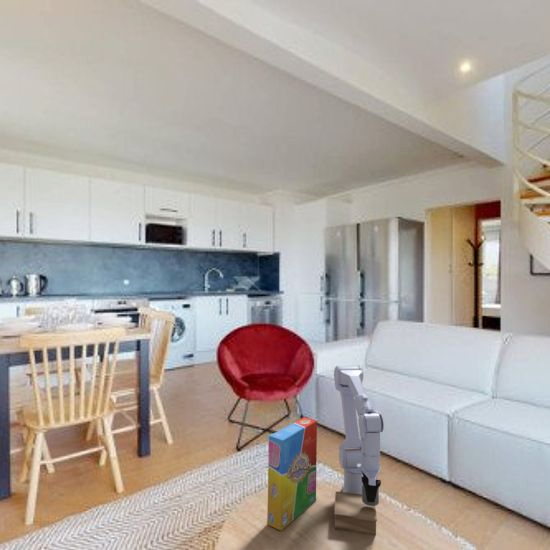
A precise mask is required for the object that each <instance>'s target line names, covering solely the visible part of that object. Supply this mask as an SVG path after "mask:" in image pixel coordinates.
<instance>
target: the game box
mask: <svg viewBox="0 0 550 550" xmlns="http://www.w3.org/2000/svg"><path fill="white" fill-rule="evenodd" d="M317 423H318V421H317V420H314V419H312V418H309V417H302V418H300V419H299V420H297V421H295V422H292V423H291V424H290V425H287V426H286V427H284V428H281V429H280V430H277V431H276V432H274V433H272V434H269V435H268V462H267V463H268V466H267V467H268V468H267V469H268V470H267V471H268V475H267V479H268V480H267V481H268V482H267V511H266V512H267V518H266V524H267V525H268V526H269V527H271V528H274V529H276V530H278V531H283V530H284V529H285V528H286V527H287V526H289V524H291V523H292V522H293V521H295V519H296V518H297V517H299V516H300V515H301V514H302V513H304V511H305V510H306V509H308V508H309V507H310V506H311V505H312V504H314V503H315V502H316V501H317V458H318V456H317V454H318V453H317V452H318V451H317V448H318V447H317V446H318V445H317V443H318V440H317V439H318V424H317Z"/></svg>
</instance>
